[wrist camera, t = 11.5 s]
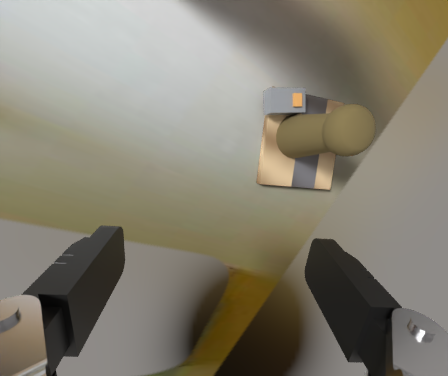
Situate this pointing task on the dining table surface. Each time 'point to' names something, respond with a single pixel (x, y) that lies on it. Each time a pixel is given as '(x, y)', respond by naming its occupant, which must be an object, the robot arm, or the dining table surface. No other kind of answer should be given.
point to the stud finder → (284, 101)
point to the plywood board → (295, 167)
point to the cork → (327, 132)
